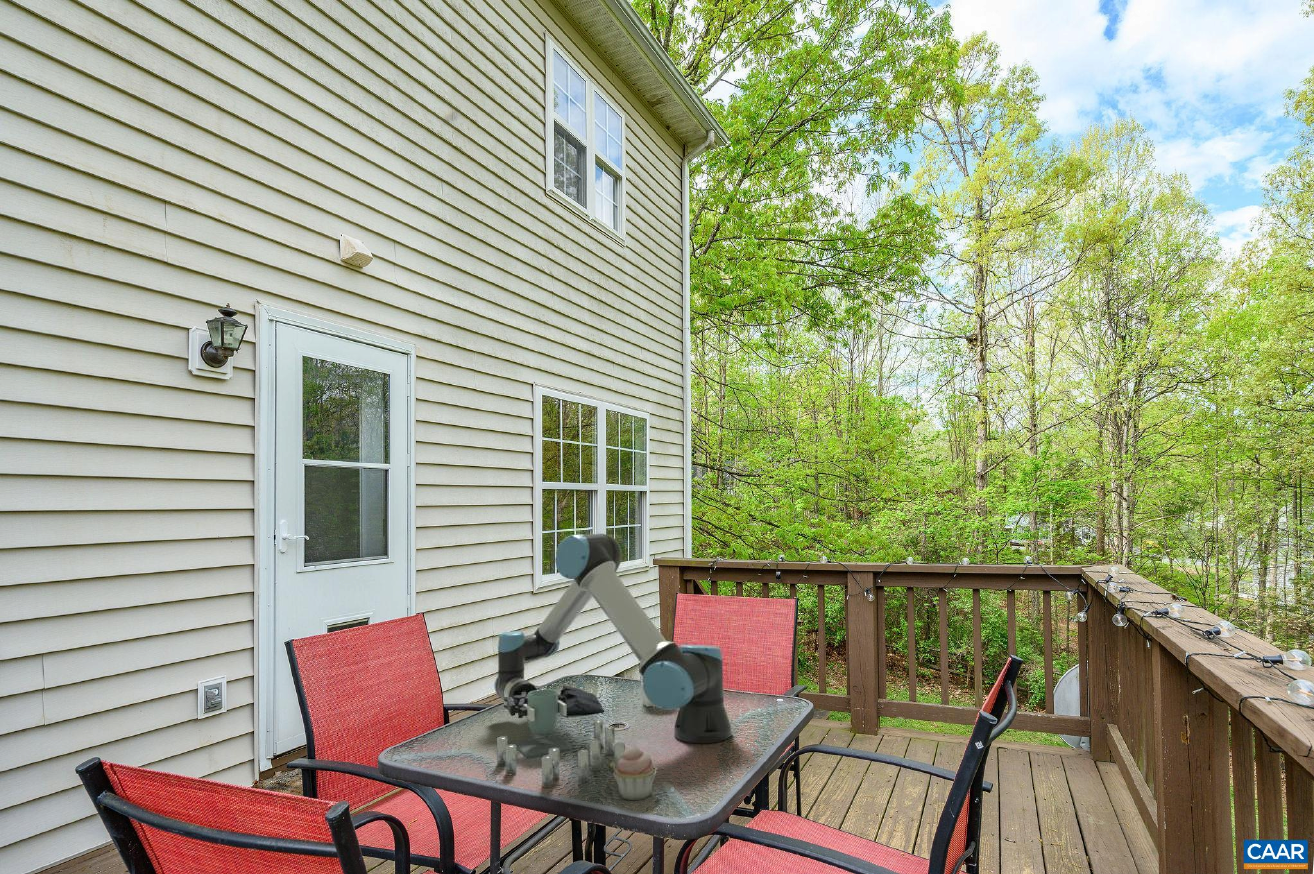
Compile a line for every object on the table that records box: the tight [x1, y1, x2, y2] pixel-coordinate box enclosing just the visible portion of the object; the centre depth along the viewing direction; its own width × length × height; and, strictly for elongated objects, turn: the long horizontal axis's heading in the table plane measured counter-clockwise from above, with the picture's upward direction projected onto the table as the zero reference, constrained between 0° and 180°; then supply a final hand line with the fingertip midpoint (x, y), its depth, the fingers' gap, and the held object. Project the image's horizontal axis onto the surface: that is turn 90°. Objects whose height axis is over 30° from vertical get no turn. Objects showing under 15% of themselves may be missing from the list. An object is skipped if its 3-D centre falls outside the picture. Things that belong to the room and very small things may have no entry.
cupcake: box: [612, 743, 658, 801], centre depth 142 cm, size 9×9×10 cm
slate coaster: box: [512, 734, 574, 759], centre depth 174 cm, size 12×12×1 cm
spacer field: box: [496, 719, 629, 789], centre depth 160 cm, size 22×32×6 cm
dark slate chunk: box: [559, 685, 605, 715], centre depth 213 cm, size 15×22×5 cm
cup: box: [527, 688, 559, 736], centre depth 175 cm, size 8×8×10 cm
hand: (549, 712), depth 171 cm, fingers closed on cup, 8 cm apart
